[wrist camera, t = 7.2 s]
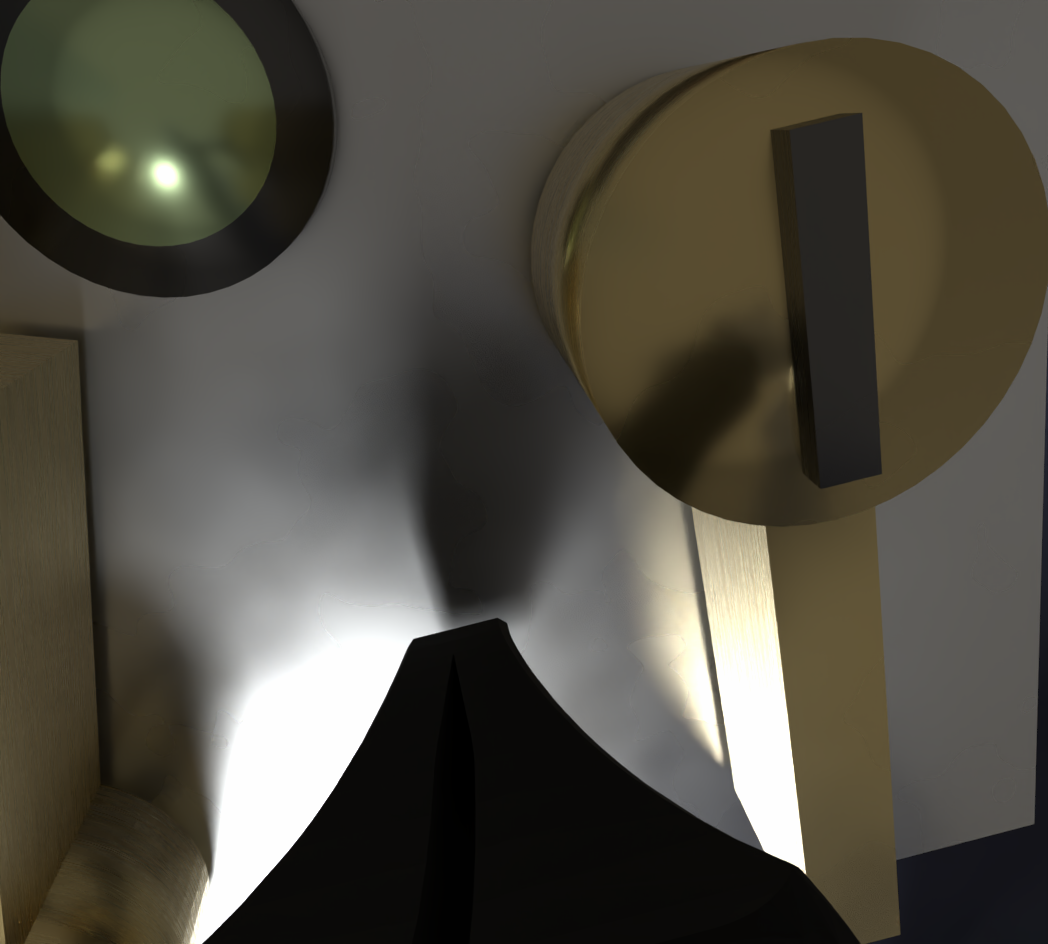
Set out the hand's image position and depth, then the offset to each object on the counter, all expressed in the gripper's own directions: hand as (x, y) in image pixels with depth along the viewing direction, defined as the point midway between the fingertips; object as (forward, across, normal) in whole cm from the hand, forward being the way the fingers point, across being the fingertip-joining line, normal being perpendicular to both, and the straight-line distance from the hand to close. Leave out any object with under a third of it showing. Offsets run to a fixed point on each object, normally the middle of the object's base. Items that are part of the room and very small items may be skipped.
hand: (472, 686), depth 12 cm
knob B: (+1, -4, -2) cm, 5 cm away
